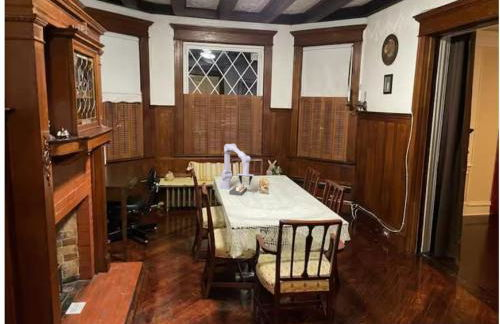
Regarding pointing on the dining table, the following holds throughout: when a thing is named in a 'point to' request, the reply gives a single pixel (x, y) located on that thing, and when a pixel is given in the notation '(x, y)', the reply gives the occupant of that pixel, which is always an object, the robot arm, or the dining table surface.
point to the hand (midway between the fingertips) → (245, 184)
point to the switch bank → (234, 192)
